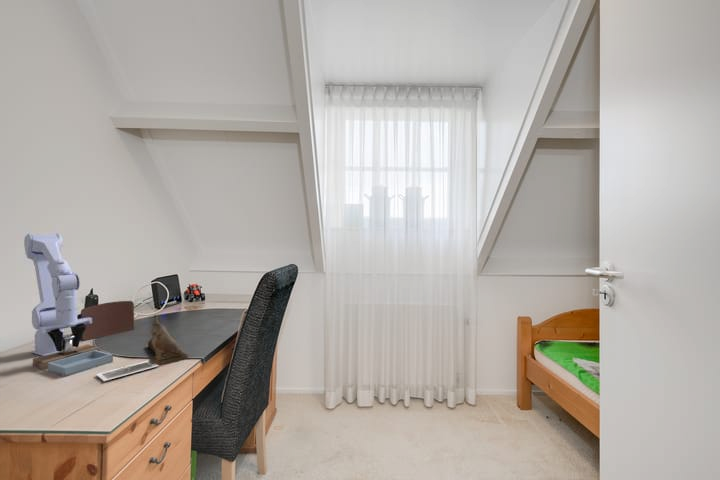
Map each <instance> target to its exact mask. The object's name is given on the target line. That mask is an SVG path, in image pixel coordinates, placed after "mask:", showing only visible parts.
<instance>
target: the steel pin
mask: <svg viewBox="0 0 720 480" xmlns="http://www.w3.org/2000/svg"><path fill="white" fill-rule="evenodd" d="M75 337H76V336H75V334H72V333H70V334H68V333H67V334H65V335H63V337H62V356H65V355H68V354H72V353H73V348H74V347H73V338H75Z"/></svg>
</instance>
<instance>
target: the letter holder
mask: <svg viewBox="0 0 720 480" xmlns="http://www.w3.org/2000/svg"><path fill="white" fill-rule="evenodd" d="M134 303H135V302H134V301H132V300H120V301H119V300H118V301H110V302H104V303H99V304H95V305H91V306H88V307H84V308H82V309H81V310H80V314H77V319H82V318H88V317H90V318H92V323H90V324H84V325H85V326H86V329H85V330H84V332H83V334H82V336H81V339H80V342H86V341H90V340H94V339H100V338H104V337H108V335H109V336H113V335H118V334H122V333H126V332H130V331H134V330H135V304H134Z"/></svg>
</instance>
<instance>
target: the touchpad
mask: <svg viewBox="0 0 720 480" xmlns="http://www.w3.org/2000/svg"><path fill="white" fill-rule="evenodd" d="M159 366H160V365H157V364H150V362H149V360H145V361H142V362H141V361H140V362H137V363H134V364H129V365H127V366H122V367H118V368H115V369H110V370H107V371H104V372H100V373H96V376H97V377H98V378H99V379H101V380H102V381H103V382H106V381H110V380H113V379H117V378H120V377H123V376H127V375H131V374H136V373H138V372H143V371H145V370H149V369H153V368H156V367H159Z"/></svg>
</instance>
